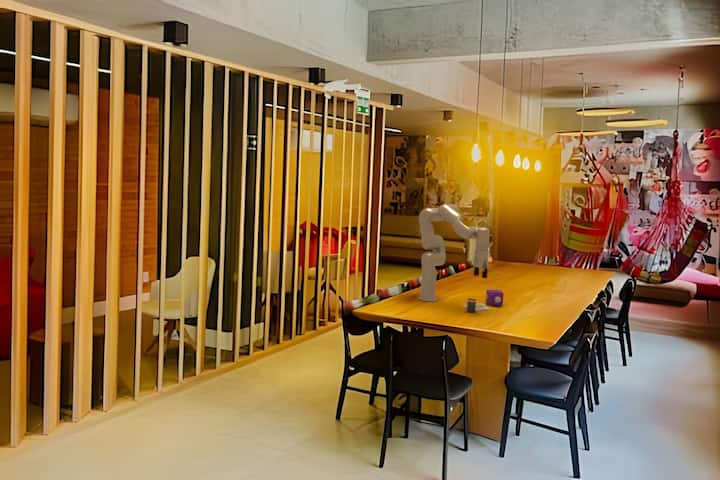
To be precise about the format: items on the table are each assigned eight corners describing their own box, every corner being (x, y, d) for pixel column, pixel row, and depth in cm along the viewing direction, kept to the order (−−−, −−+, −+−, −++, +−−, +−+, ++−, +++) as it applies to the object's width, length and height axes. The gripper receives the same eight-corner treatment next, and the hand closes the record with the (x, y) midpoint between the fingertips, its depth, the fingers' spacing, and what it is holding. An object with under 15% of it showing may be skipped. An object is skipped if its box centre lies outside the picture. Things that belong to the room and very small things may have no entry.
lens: (464, 311, 378) (465, 298, 378) (471, 311, 381) (472, 298, 380) (469, 313, 374) (470, 300, 373) (477, 313, 376) (478, 299, 375)
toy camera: (492, 307, 396) (493, 292, 396) (482, 303, 410) (483, 288, 409) (507, 307, 399) (508, 292, 398) (497, 303, 412) (498, 288, 412)
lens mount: (463, 307, 393) (463, 302, 393) (479, 306, 398) (479, 301, 398) (474, 311, 382) (475, 306, 382) (490, 310, 387) (491, 305, 387)
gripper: (469, 246, 384) (467, 274, 385) (483, 249, 368) (482, 278, 369) (480, 247, 387) (478, 274, 388) (495, 250, 370) (493, 278, 372)
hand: (480, 276), depth 379 cm, fingers open, 9 cm apart
